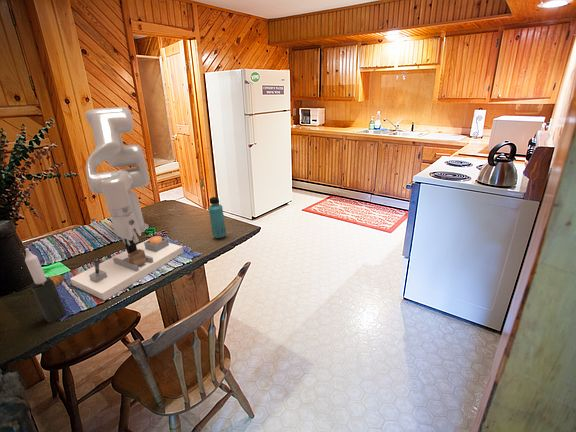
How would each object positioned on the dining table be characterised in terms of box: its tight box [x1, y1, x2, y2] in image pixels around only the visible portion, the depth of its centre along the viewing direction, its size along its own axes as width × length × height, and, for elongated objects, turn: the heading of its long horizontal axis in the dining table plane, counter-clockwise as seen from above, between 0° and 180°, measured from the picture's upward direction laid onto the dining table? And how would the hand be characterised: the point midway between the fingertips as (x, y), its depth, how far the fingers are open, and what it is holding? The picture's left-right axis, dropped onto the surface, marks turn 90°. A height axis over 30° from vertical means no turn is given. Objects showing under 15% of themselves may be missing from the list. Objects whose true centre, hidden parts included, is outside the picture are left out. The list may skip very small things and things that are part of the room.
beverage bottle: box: [208, 196, 227, 239], centre depth 142 cm, size 6×7×20 cm
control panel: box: [70, 237, 184, 302], centre depth 123 cm, size 20×36×6 cm, turn 151°
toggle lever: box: [93, 258, 101, 274], centre depth 110 cm, size 2×2×7 cm
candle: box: [24, 247, 67, 324], centre depth 94 cm, size 5×5×25 cm
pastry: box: [48, 274, 64, 287], centre depth 114 cm, size 9×7×4 cm
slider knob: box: [128, 249, 147, 266], centre depth 120 cm, size 3×5×5 cm, turn 151°
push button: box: [148, 235, 163, 245], centre depth 133 cm, size 5×5×4 cm
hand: (132, 252), depth 121 cm, fingers closed
